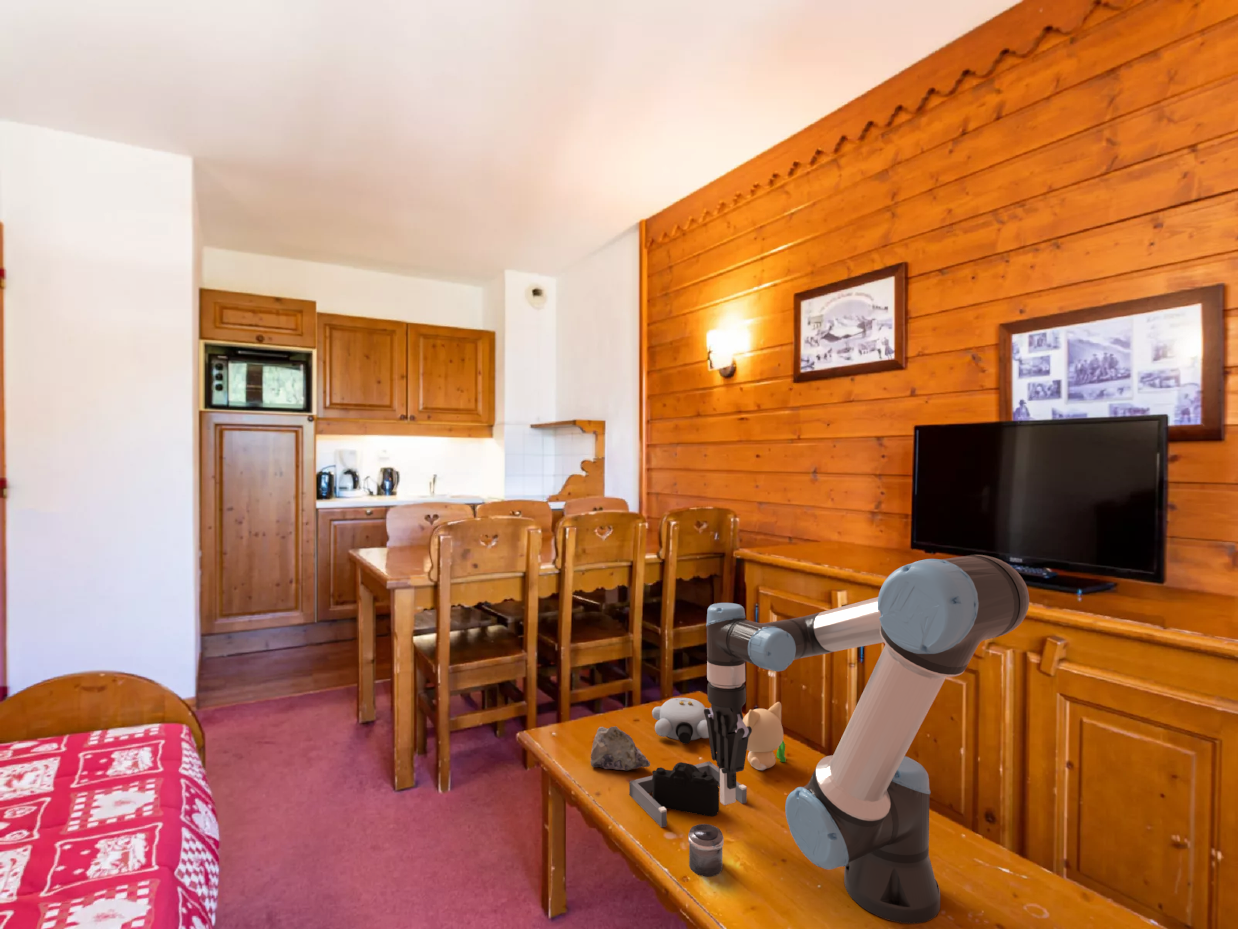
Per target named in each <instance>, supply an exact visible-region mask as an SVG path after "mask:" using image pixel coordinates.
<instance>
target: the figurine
mask: <svg viewBox="0 0 1238 929" xmlns="http://www.w3.org/2000/svg"><path fill="white" fill-rule="evenodd" d="M704 709H708V707H705V705H704V704H703V703H702V702H700V701H699V700H696V699H694V698H688V697H675V698H674V697H673V698H670V699H668V700H666V701H665V702H664V703H663V704H662V705H661V706H660V705H659V706H655V707H654V708H653V709H652V711H651V715H652V718H653V719H655V720H657V721H656V722H655V724H654V730H655V733H656V735H658V736H660V737H662V738H663V737H664V738H665V737H667V738H670V739H672V740H677V741H679V742H680V743H681V744H683V745H687V744H689V743H690V742H691V741H695V740H698V739H700V738H702V739H709V734H708V727H707V721H706V717H705V714H704Z"/></svg>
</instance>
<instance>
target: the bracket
mask: <svg viewBox="0 0 1238 929" xmlns="http://www.w3.org/2000/svg"><path fill="white" fill-rule="evenodd" d="M693 765H694V766H696V767H697V769H698V770H699V772H701V773H704V771H706V772H707V775H708V776H709V775H711V776H713V777H714V778H715V779H716V781H718V782H719V767H718V766H717V765H715V764H714V763H712V762H711V761H704V762H702V763H697V764H693ZM652 777H653V775H650V776H649V775H648V776H645V777H640V778H637V779H632V780H629V782H628V783H629V788H628V789H629V796H630V797H631V798H632V799H633V800H634V801H635V803H637V804H638V805H639V806H640V808H642V809H643V810H644V811H645V812H646V813H647V815H648V816H650V818H652V820H653V821H654V822H655V824H657V825H658V826H659V827H660V828H665V827H667V826H668V824H667V811H668V810H667V809H666V808H665V807H664V806H663V807H662V806H661V805H660V804H659V803H658V802H656V801H655V800H654V799H653V798H652V795H651V794H652V792H653V789H652ZM719 783H720V782H719ZM718 786H719V784H718ZM747 790H748V789H747V786H746V785H745V784H741V783H740V782H738V781H737V780H736V788H735V793H736V801H738V802H739V803H740V804H741V805H742V804H747V801H748V800H747V797H748V795H747V793H748V792H747Z"/></svg>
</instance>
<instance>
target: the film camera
mask: <svg viewBox="0 0 1238 929" xmlns="http://www.w3.org/2000/svg"><path fill="white" fill-rule="evenodd" d="M694 765H695V764H693V763H692V764H691V763H686V762H681V761H680V762H677V763H676V764H675V765H674V766H673V768H672V770H670V769H665V768H664V767H657V768H656V769H655V770H652V772H651V773H652V776H653V777H652V789H653V792H652V793H651V797H652V798H653V799H654V800H655V801H656V802H658V803H659V804H660V805H661V806H662V807H663V806H664V807H665V808H666V809H668V810H673V811H677V812H678V811H679V812H684V813H689V814H693V815H699V816H705V817H716V816H717V815H718V813H719V812H720V783H719V782H718V781H716V779H715V778H714V777H713V776H711V775H709V776H708V775H707V772H706V771H704V773H701V772H699V770H698V769H697V767H696V766H694ZM718 784H719V785H718Z"/></svg>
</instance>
